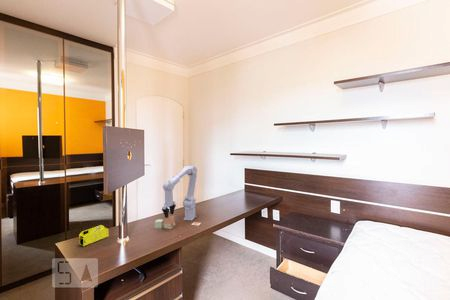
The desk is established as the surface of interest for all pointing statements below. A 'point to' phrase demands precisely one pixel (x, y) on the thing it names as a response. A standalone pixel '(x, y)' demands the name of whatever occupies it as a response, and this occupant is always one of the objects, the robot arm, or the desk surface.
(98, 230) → the yellow toy chassis
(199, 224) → the tile
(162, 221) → the sage cube
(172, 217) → the terracotta cube
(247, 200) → the desk surface
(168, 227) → the maple base
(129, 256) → the desk surface
